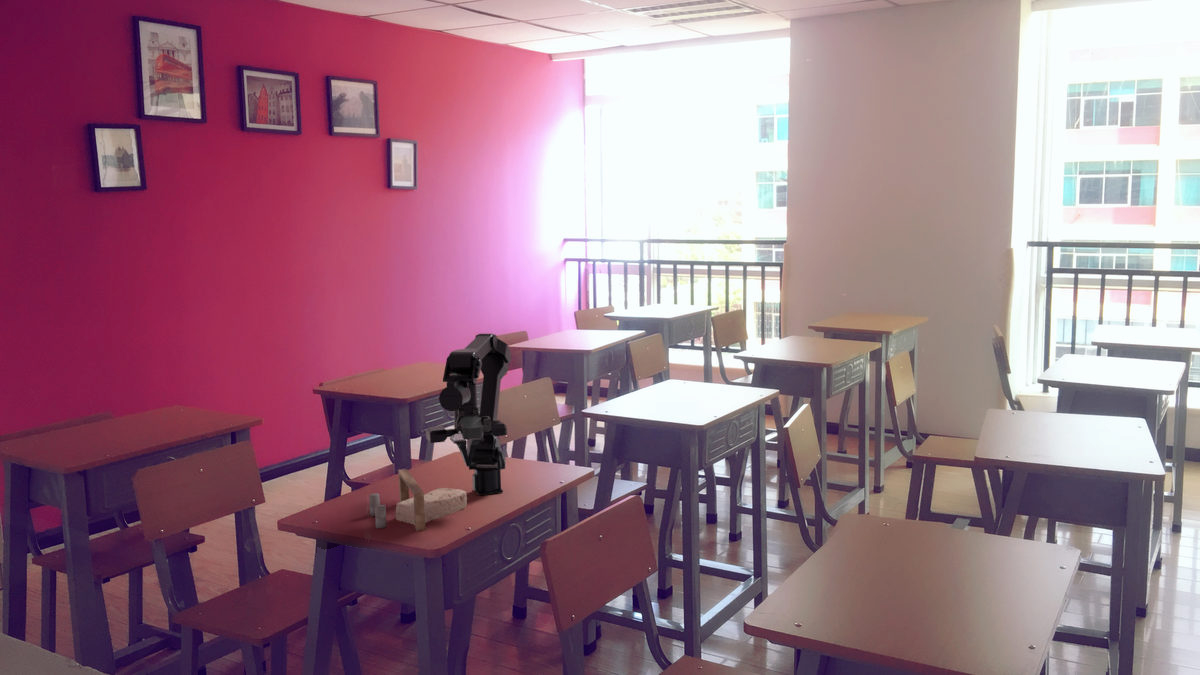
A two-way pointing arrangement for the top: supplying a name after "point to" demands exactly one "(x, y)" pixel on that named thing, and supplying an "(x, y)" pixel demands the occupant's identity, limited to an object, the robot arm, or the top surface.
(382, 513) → the shelf frame
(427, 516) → the brick
